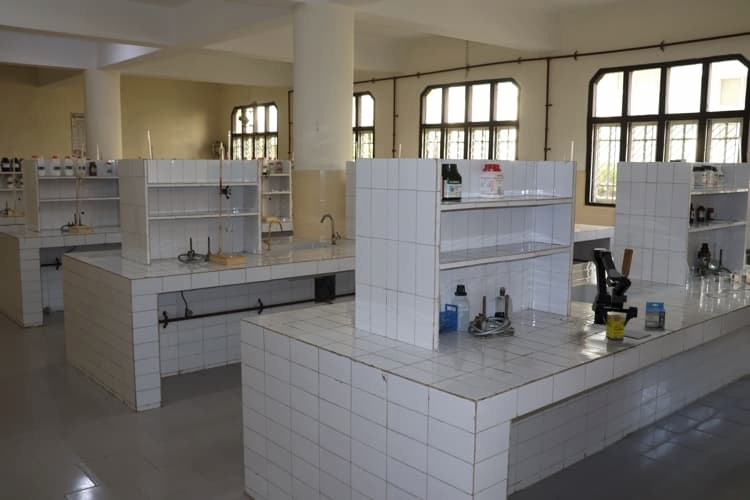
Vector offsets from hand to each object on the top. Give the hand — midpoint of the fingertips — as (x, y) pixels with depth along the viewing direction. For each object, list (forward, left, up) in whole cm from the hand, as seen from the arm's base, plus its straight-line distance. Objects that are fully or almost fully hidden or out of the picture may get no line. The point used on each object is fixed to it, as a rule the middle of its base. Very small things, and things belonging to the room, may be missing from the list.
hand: (615, 325), depth 316 cm
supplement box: (0, +1, -7) cm, 7 cm away
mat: (+8, +12, -7) cm, 16 cm away
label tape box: (+18, +35, -7) cm, 40 cm away
